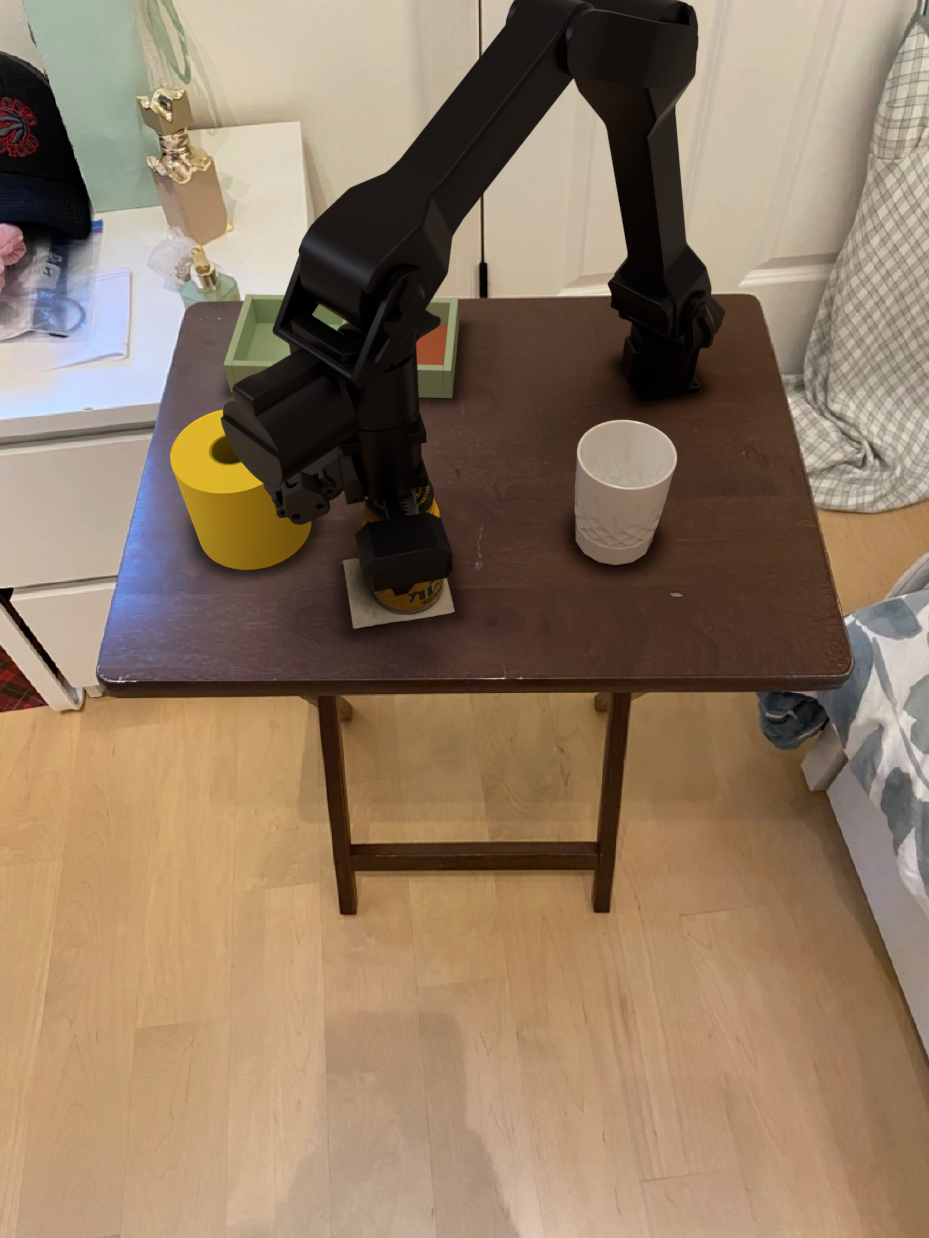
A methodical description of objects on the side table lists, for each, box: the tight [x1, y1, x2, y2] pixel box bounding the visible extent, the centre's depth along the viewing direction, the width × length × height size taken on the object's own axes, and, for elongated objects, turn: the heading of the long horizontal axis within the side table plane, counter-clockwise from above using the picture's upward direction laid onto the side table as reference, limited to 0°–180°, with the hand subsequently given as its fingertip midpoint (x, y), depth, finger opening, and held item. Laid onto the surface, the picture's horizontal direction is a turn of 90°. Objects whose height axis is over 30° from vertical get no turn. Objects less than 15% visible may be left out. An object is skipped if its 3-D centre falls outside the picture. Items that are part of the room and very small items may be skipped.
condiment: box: [342, 478, 456, 630], centre depth 74 cm, size 7×8×12 cm
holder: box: [222, 293, 460, 399], centre depth 96 cm, size 22×12×4 cm, turn 87°
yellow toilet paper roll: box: [169, 409, 312, 571], centre depth 80 cm, size 10×10×9 cm
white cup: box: [574, 419, 678, 566], centre depth 78 cm, size 8×8×10 cm
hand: (391, 556), depth 76 cm, fingers closed on condiment, 8 cm apart
